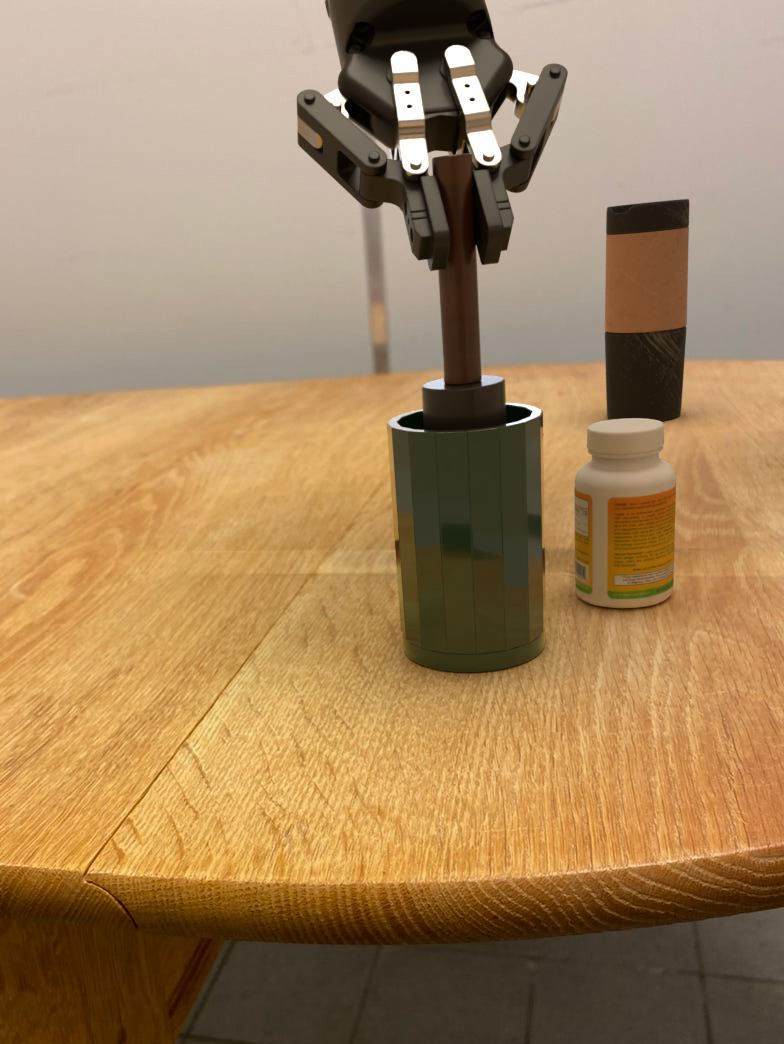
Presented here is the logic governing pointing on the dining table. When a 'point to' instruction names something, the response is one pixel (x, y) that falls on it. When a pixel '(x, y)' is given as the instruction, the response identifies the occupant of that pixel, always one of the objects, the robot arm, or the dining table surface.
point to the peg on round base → (460, 316)
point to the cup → (470, 540)
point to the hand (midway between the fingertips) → (467, 252)
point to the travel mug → (646, 308)
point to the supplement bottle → (625, 516)
